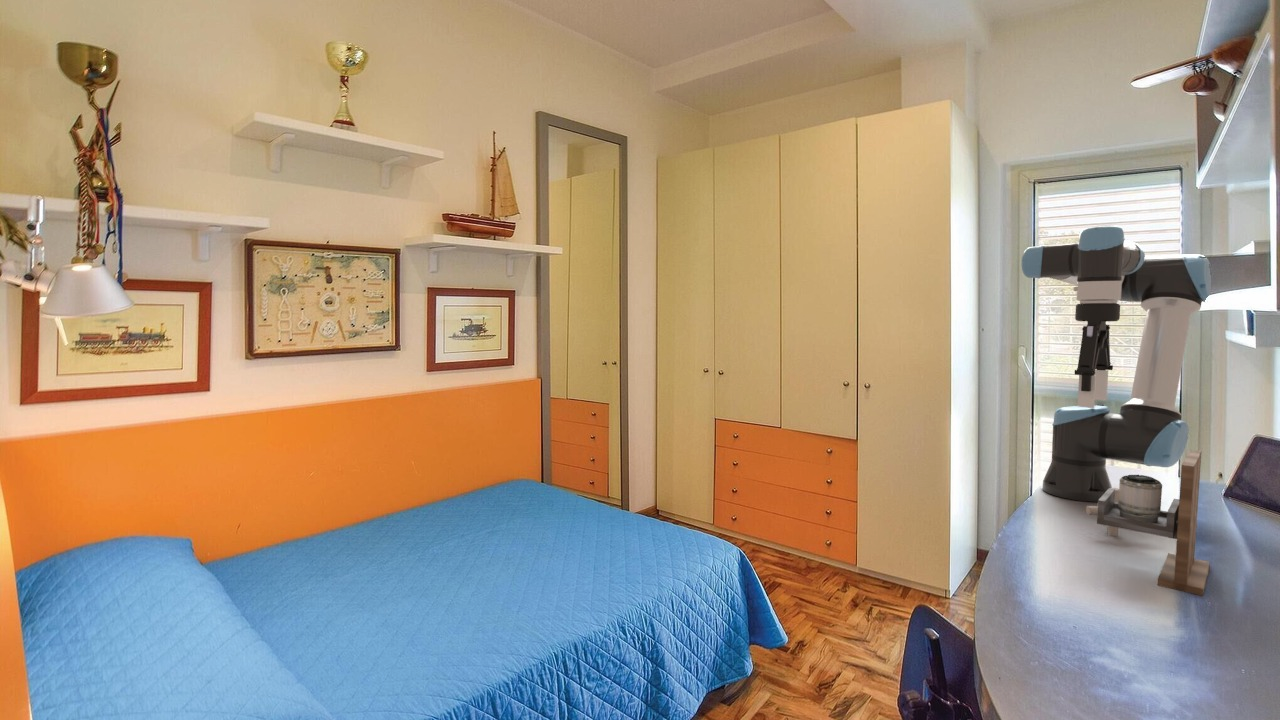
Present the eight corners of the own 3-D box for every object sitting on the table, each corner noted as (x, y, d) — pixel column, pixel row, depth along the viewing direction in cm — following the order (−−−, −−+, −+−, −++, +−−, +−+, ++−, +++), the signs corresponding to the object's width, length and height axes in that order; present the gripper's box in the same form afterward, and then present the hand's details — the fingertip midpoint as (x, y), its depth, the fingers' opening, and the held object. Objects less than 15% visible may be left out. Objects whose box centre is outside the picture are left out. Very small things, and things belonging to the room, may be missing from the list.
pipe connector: (1152, 544, 130) (1155, 497, 129) (1098, 541, 132) (1101, 494, 131) (1125, 527, 139) (1128, 483, 139) (1075, 525, 141) (1077, 481, 141)
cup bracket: (1107, 546, 129) (1113, 440, 127) (1209, 567, 118) (1217, 452, 116) (1092, 569, 118) (1098, 453, 116) (1202, 595, 107) (1211, 468, 105)
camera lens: (1109, 512, 122) (1111, 473, 121) (1141, 512, 122) (1143, 472, 121) (1135, 523, 116) (1137, 482, 115) (1169, 523, 116) (1171, 481, 115)
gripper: (1088, 302, 142) (1083, 395, 144) (1062, 302, 125) (1057, 408, 126) (1129, 302, 137) (1124, 398, 139) (1109, 302, 119) (1103, 412, 121)
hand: (1092, 403), depth 132 cm, fingers open, 13 cm apart
